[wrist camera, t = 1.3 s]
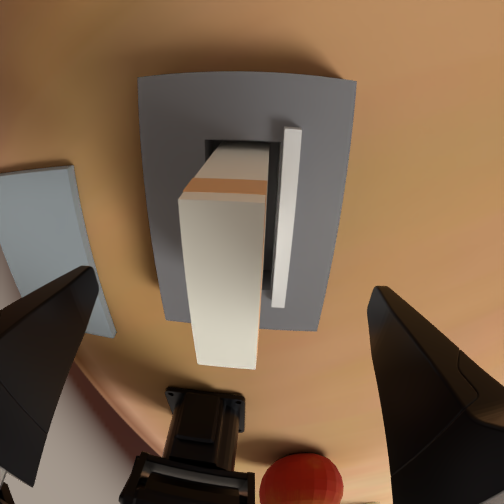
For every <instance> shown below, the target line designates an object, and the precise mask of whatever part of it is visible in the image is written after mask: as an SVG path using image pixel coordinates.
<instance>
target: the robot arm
mask: <svg viewBox="0 0 504 504" xmlns="http://www.w3.org/2000/svg"><path fill="white" fill-rule="evenodd" d="M98 293H99V285H98V281H97V278H96V274H95V271H94V269H93V267H91V266H85V265H81V266H79V267H77V268H75V269H73V270H72V271H70V272H68V273H66V274H64V275H62V276H60V277H58V278H56V279H55V280H53V281H51V282H49V283H47V284H45V285H44V286H42V287H40V288H38V289H36V290H35V291H33V292H31V293H29V294H27V295H26V296H24V297H22V298H20V299H19V300H17V301H15V302H13V303H12V304H10V305H8V306H7V307H5V308H3V310H0V504H15V503H14V501H13V498H12V495H11V493H10V490H9V487H8V484H6V483H5V482H4V478H5V476H6V473H9V474H10V475H12V476H13V477H15V478H17V479H18V480H20V481H22V482H23V483H25V484H27V485H29V486H31V487H33V486H34V483H35V479H36V475H37V471H38V467H39V463H40V459H41V455H42V452H43V448H44V444H45V441H46V438H47V434H48V431H49V428H50V424H51V421H52V418H53V415H54V412H55V409H56V406H57V403H58V400H59V397H60V395H61V392H62V389H63V386H64V384H65V381H66V378H67V376H68V373H69V371H70V368H71V365H72V363H73V360H74V358H75V355H76V353H77V351H78V348H79V346H80V343H81V341H82V339H83V336H84V334H85V331H86V329H87V326H88V323H89V320H90V317H91V314H92V311H93V308H94V305H95V302H96V299H97V296H98ZM367 316H368V325H369V335H370V345H371V354H372V360H373V365H374V370H375V375H376V380H377V386H378V391H379V397H380V403H381V408H382V415H383V421H384V427H385V434H386V441H387V449H388V456H389V465H390V474H391V485H392V496H393V504H504V386H503V385H501V384H500V383H499V382H498V381H496V380H495V379H494V378H493V377H491V376H490V375H489V374H488V373H487V372H485V371H484V370H483V369H482V368H480V367H479V366H478V365H477V364H476V363H475V362H474V361H473V360H471V359H470V358H469V357H468V356H467V355H466V354H465V353H464V352H463V351H462V350H459V348H458V347H457V346H456V345H455V344H454V343H453V342H452V341H450V340H449V339H448V338H447V337H446V336H445V335H444V334H443V333H441V332H440V331H439V330H438V329H437V328H436V327H435V326H434V325H432V324H431V323H430V322H429V321H428V320H427V319H426V318H424V317H423V316H422V315H421V314H420V313H419V312H417V311H416V310H415V309H414V308H413V307H412V306H410V305H409V304H408V303H407V302H406V301H405V300H403V299H402V298H401V297H400V296H399V295H397V294H396V293H395V292H394V291H393V290H391V289H390V288H389V287H387V286H376V287H374V289H373V292H372V295H371V298H370V301H369V304H368V308H367ZM165 394H166V397H167V400H168V403H169V406H170V408H171V411H172V414H173V416H172V420H171V424H170V428H169V432H168V436H167V440H166V444H165V448H164V452H163V456H162V457H158V456H154V455H150V454H149V453H147V452H143V451H142V452H141V455H140V456H136V459H135V462H134V466H133V469H132V472H131V474H130V477H129V479H128V480H127V482H126V484H125V487H124V488H123V490H122V492H121V494H120V496H119V502H120V504H255V473H252V472H247V473H243V472H235V471H234V466H235V457H236V448H237V439H238V433H242V432H244V428H245V398H244V397H243V396H239V395H229V394H219V393H210V392H201V391H194V390H186V389H179V388H173V387H167V388H166V391H165Z"/></svg>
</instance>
